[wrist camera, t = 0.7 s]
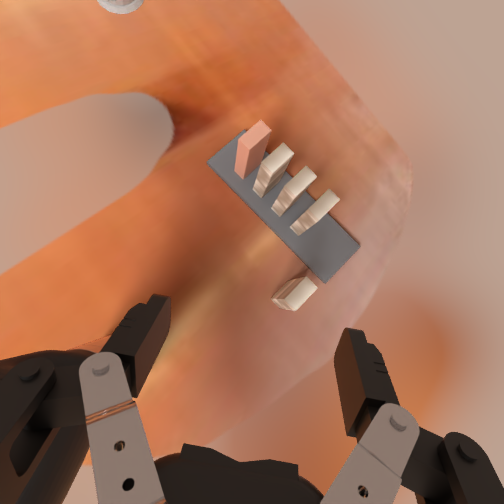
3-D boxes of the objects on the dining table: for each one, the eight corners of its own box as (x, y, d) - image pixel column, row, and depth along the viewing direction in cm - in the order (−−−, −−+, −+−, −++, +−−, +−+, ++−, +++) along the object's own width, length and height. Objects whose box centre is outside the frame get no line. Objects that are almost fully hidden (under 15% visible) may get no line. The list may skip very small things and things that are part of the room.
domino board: (324, 283, 58) (325, 283, 57) (206, 163, 59) (206, 161, 58) (358, 247, 60) (360, 246, 59) (243, 132, 61) (244, 129, 60)
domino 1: (279, 182, 59) (294, 153, 47) (261, 198, 58) (272, 173, 46) (270, 173, 59) (283, 142, 47) (252, 189, 58) (261, 161, 46)
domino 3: (315, 219, 58) (340, 199, 47) (298, 236, 58) (319, 220, 46) (306, 210, 59) (329, 188, 47) (289, 227, 58) (308, 209, 46)
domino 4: (297, 289, 57) (317, 287, 45) (279, 308, 56) (295, 311, 44) (288, 280, 57) (306, 276, 45) (270, 298, 56) (284, 299, 45)
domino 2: (297, 200, 59) (317, 176, 47) (279, 217, 58) (295, 196, 46) (288, 191, 59) (306, 165, 47) (271, 208, 58) (284, 185, 46)
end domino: (260, 163, 59) (271, 130, 47) (243, 179, 58) (249, 149, 46) (252, 155, 59) (260, 119, 47) (234, 170, 58) (238, 138, 46)
